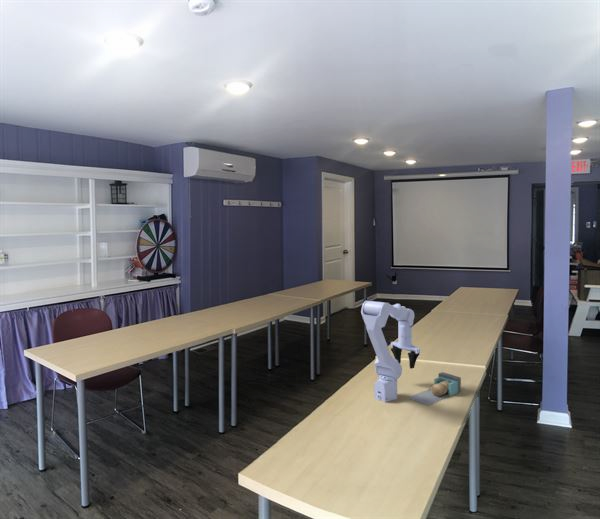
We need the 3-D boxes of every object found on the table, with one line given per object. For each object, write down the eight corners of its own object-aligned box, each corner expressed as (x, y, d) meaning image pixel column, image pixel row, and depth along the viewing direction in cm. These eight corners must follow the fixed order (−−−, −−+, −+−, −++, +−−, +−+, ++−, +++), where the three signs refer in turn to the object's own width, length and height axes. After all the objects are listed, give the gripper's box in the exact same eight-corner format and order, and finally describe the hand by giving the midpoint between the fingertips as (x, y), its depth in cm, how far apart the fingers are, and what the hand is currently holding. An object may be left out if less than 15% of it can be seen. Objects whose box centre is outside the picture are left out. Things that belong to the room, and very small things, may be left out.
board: (427, 407, 178) (427, 405, 178) (407, 399, 186) (407, 397, 186) (457, 394, 190) (457, 393, 190) (437, 387, 198) (437, 386, 198)
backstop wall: (456, 394, 191) (456, 379, 190) (438, 387, 198) (438, 373, 197) (460, 392, 192) (460, 377, 192) (442, 386, 200) (442, 372, 199)
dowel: (440, 398, 186) (441, 387, 185) (430, 393, 189) (431, 383, 188) (451, 393, 190) (453, 383, 189) (441, 389, 194) (443, 378, 193)
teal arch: (450, 395, 187) (450, 384, 187) (434, 390, 193) (434, 378, 193) (457, 392, 190) (457, 381, 190) (441, 387, 196) (441, 376, 196)
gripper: (424, 337, 193) (424, 367, 195) (398, 330, 205) (398, 359, 206) (414, 340, 189) (413, 371, 190) (387, 333, 200) (387, 363, 202)
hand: (405, 365), depth 198 cm, fingers open, 7 cm apart
